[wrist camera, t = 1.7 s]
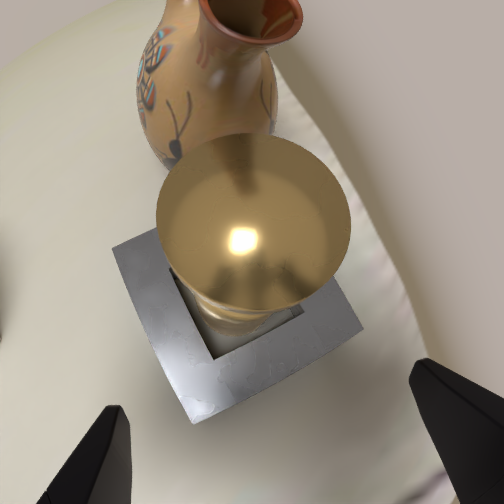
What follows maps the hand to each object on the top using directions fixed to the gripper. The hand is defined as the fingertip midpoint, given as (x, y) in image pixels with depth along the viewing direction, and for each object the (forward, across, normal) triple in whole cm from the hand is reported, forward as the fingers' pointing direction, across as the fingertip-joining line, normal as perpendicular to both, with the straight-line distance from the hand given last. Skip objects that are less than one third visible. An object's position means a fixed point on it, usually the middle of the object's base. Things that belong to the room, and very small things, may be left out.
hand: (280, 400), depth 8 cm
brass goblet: (+13, 0, +5) cm, 14 cm away
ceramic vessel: (+21, +1, -4) cm, 22 cm away
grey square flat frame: (+13, 0, +5) cm, 14 cm away
